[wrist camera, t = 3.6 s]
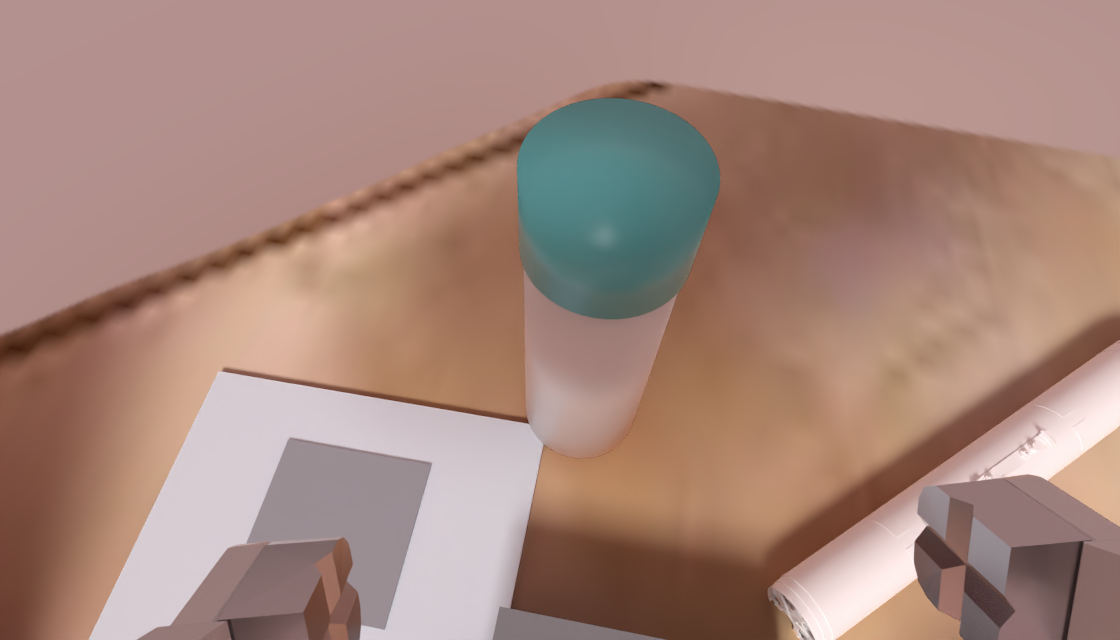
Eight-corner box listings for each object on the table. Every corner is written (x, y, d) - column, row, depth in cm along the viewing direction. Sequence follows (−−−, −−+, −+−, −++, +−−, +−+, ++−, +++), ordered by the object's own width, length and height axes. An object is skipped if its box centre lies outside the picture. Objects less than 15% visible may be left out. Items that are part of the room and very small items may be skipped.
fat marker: (643, 365, 24) (725, 114, 14) (630, 471, 21) (714, 264, 12) (535, 346, 24) (539, 85, 14) (511, 449, 22) (495, 226, 12)
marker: (1134, 326, 24) (1187, 293, 22) (1186, 370, 24) (1245, 339, 21) (758, 590, 20) (779, 578, 18) (803, 656, 19) (832, 651, 17)
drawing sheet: (546, 428, 22) (546, 425, 22) (485, 733, 18) (484, 734, 18) (221, 373, 23) (217, 370, 23) (89, 647, 19) (82, 646, 19)
